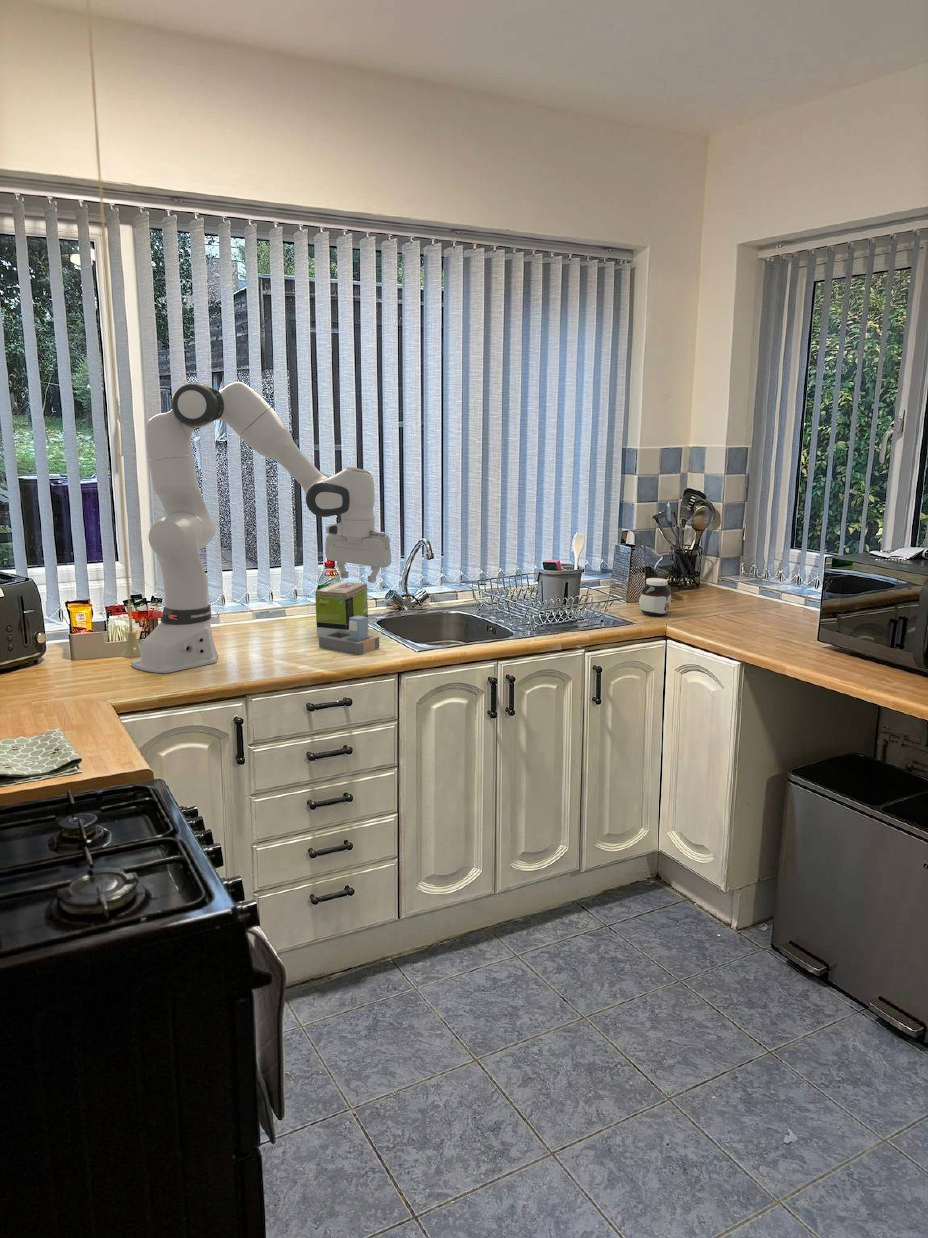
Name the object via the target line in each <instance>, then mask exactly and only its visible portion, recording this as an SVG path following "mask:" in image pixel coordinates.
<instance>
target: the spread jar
mask: <svg viewBox="0 0 928 1238" xmlns="http://www.w3.org/2000/svg"><path fill="white" fill-rule="evenodd" d="M645 582H646V583H645V585H644V587H643V588H642V590H641V593H640V597H639V600H638V604H639V609H640V612H641V613H642V614H643V615H645V616H648V617H656V618H659V617H661V618H662V617H664V616H666V615H667V614H668V613H669V611H670V609H671V601H672V592H671V589H670V588H669V586H668V580H667V579H665V578H661V577H659V578H657V577H649V578H646V580H645Z"/></svg>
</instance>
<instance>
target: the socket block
mask: <svg viewBox="0 0 928 1238" xmlns="http://www.w3.org/2000/svg"><path fill="white" fill-rule="evenodd" d="M318 647H319V648H321V649H326V650H332V651H337V652H342V653H347V654H352V655H356V656H360V655H363V654H366V653H369V652H371V651H374V650H377V649H380V636H378V635H377V636H374V635H369V634H368V639H366V640H363V641H360V642H358V641H352V640H350V632H347V631H342V630H339V631H336V632H332V633H329V634H326V635H322V636H318Z"/></svg>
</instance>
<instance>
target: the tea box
mask: <svg viewBox="0 0 928 1238" xmlns="http://www.w3.org/2000/svg"><path fill="white" fill-rule="evenodd" d="M314 593H315V594H314V596H315V597H314V598H315V616H316V617H315V618H316V619H315V622H316V635H317V637H319V636H322V635H326V634H329V633H332V632H336V631H339V630H342V631H347V632H350V630H349V621H350V617H354V616H358V615H359V616H364V617H368V618H369V608H368V607H369V606H368V583H365V582H364V583H363V582H349V581H336V582H333V583H332V584H328V585H326V586H324V587H321V588H319V589H317V590H315V591H314Z"/></svg>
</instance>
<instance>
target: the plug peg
mask: <svg viewBox="0 0 928 1238" xmlns="http://www.w3.org/2000/svg"><path fill="white" fill-rule="evenodd" d="M349 630H350V640H352V641H358V642H360V641H363V640H366V639H368V635H369V616H368V617H364V616H359V615H358V616H354V617H350V621H349Z"/></svg>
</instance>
